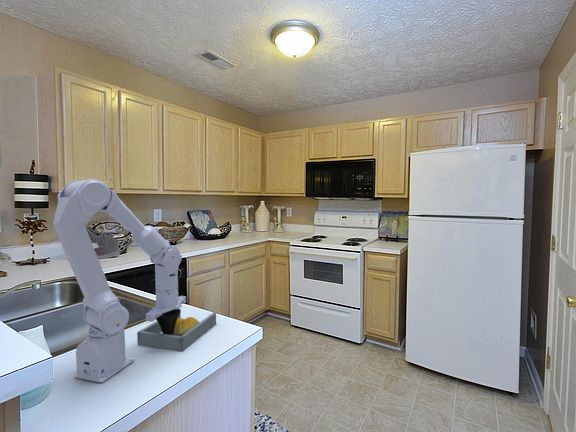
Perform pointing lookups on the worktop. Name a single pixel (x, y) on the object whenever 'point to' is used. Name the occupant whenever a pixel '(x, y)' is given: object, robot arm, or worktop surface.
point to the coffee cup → (95, 248)
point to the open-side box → (179, 343)
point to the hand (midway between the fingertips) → (168, 336)
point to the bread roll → (184, 325)
